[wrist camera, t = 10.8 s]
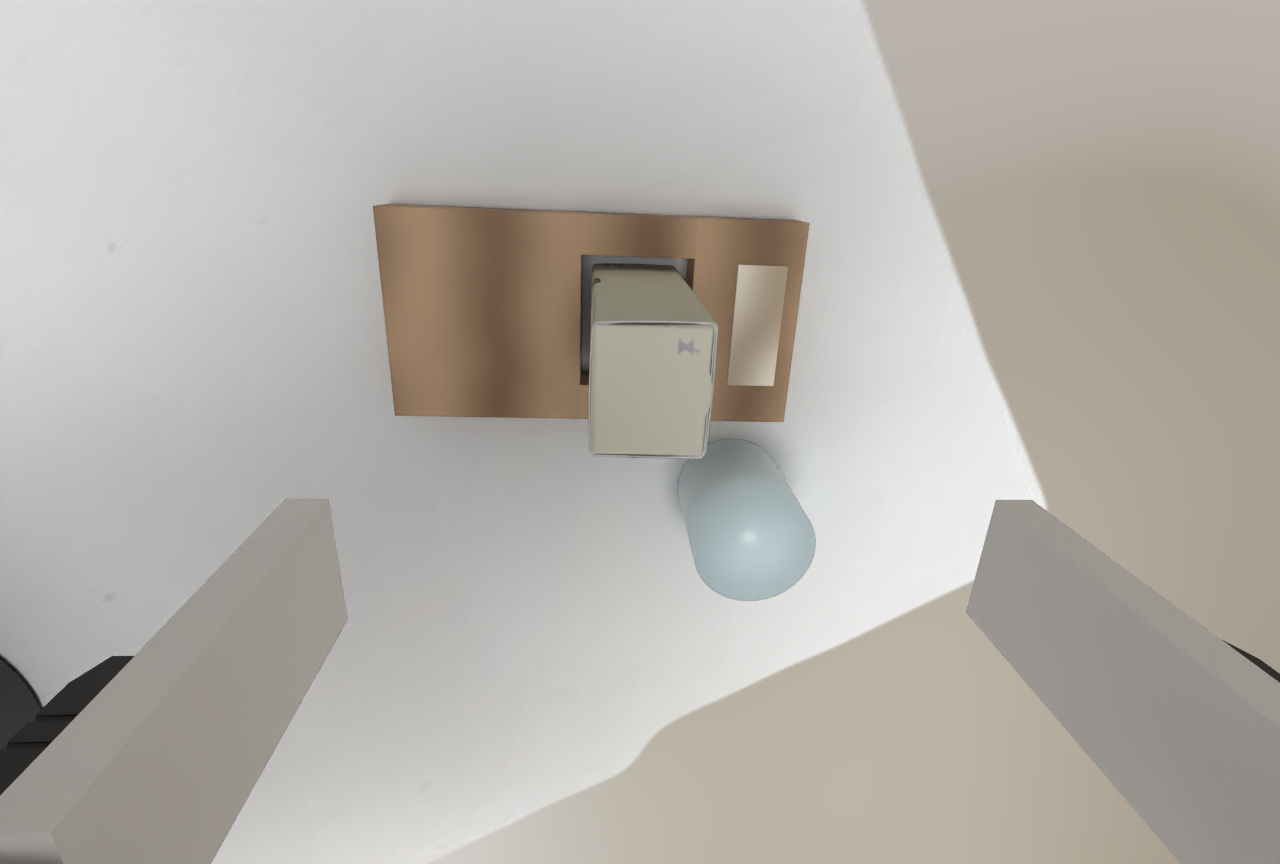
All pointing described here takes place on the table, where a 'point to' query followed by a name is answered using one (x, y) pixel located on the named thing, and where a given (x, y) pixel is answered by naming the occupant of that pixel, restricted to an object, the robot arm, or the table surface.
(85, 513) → the table surface
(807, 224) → the brown flat wooden slab
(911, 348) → the table surface
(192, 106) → the table surface
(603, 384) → the box
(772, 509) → the pale blue capsule
